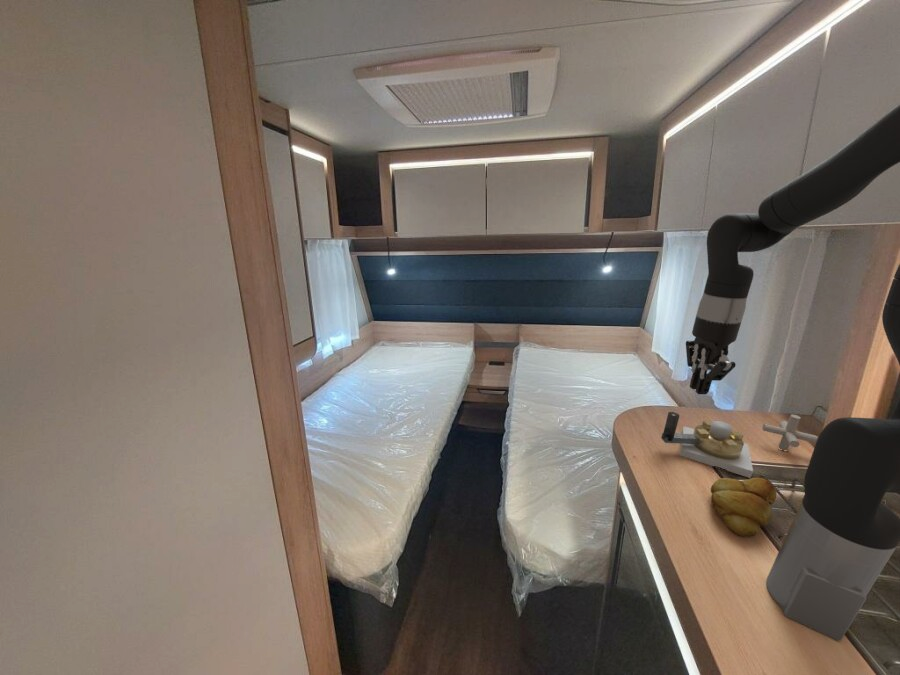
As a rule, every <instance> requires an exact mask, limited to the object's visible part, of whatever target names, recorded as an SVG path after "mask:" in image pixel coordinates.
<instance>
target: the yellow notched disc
mask: <svg viewBox="0 0 900 675" xmlns="http://www.w3.org/2000/svg"><path fill="white" fill-rule="evenodd" d="M679 419H680V414H679V413H678V412H673V411H669V412H668V414H667V417H666V422H665V423H664V424H665V425H664V428H663V429H664V430H663V432H662V434H661V437H660V438H661V440H662V441H663V442H664V444H680V445H681V444H694V445H695V446H696V447H697V448H699V449H700V450H702V451H703V452H705V453H707V454H709V455H712V456H715V457H718V458H723V459H736V458H738V457H739V456H740V454H741V451H742V448H743V445H744V443H745V442H744V441H743V439H744V434H742V432H740V431H739V430H733V429H732V430H731V433H730V436H729V439H728V440H725V439H723V440H719V439H716V438H714V437H712V436H711V435H710V434H709V431H710V427H711V424H712V422H713V421H712V420H703V421H702V424H700V425H699V424H698V425H697V426H695V427H694V429H695V430H694V433H693V434H682V433H676V430H677V427H678V423H679Z"/></svg>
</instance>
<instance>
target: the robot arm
mask: <svg viewBox="0 0 900 675" xmlns="http://www.w3.org/2000/svg"><path fill="white" fill-rule="evenodd" d="M899 163H900V103H899V104H898V105H896V106H894V108H892V109H891V110H889V111H888V112H887V113H886V114H885V115H882V117H881V118H879V120H877V121H875V122H874V123H873V124H871V126H868V128H866V129H865V130H864V131H863V132H861V133H860V134H858V136H856V137H855V138H853V139H852V140H851V141H849V142H848V143H847V144H846V145H845V146H843V147H842V148H840V149H839V150H837V151H836V152H835V153H834V154H832V155H831V156H829V157H828V158H827V159H825V160H823V161H821V162H820V163H818V164H817V165H815V166H814V167H812V168H811V169H809V170H807V171H806V172H804V173H803V174H801V175H799V176H798V177H796V178H794V179H793V180H790V182H787V183H786V184H784V185H783V186H781V187H779V188H778V189H776V190H775V191H773V192H771V193H770V194H769V195H767V196H766V197H765V198H764V199H763V200H761V203H760V205H759V207H758V209H757V211H758V212H757V213H752V212H751V213H745V212H743V213H742V212H741V213H735V212H734V213H733V212H732V213H726V214H723V215H721V216H719V217H718V218H717V219H716V220H714V221H713V223H712V225H711V226H710V228H709V230H708V232H707V236H706V253H707V267H708V268H707V270H708V273H707V279H706V282H705V285H704V290H703V292H702V296H701V298H700V300H699V304H698V308H697V311H696V315H695V319H694V323H693V327H692V331H691V334H692V336H693V337H695V338H694V340H686V342H685V351H686V363H687V364H686V365H687V366H688V367H690V368H691V369H690V370H691V373H692V375H691V378H690V382H689V383H690V384H689V388H690V389H691V390H695V393H696V394H697V395H707V394H709V392H710V390H711V389H710V388H711V384H712V383H713V381H719V382H720V381H722V380H723V379H724V378H725V377H726V376H727V375H728V374H729V373H731V371H732V370H734V369H735V368H736V366H737V364H736V362H735V361H730V359H729V358H728V355H729V345H730V344H732V343H734V342H736V341H737V338H738V335H739V332H740V328H741V325H742V321H743V318H744V314H745V311H746V309H747V308H746V306H747V299H748V295H749V292H750V289H751V286H752V283H753V278H754V269H752V267H751V266H748V265H745V264H744V265H743V264H739V253H754V252H760V251H763V250H765V249H769V248H770V247H773V246H774V245H776V244H778V243H779V242H780V241H782V240H784V239H785V237H787V236H789V235H790V234H791V233H793V231H795V230H796V229H797V228H799V227H802V226H804V225H805V224H808V223H810V222H812V221H814V220H817V219H819V218H821V217H823V216H824V215H827V214H829V213H832V212H833V211H835V210H837V209H839V208H841V207H842V206H844V205H845V204H847V203H848V202H850V201H852V200H854V199H855V198H856V197H857V196H858V195H859V194H860V193H862V192H863V191H864V190H865V189H866V188H867V187H868V186H869V185H870V184H871V183H872V182H873V181H874V180H875V179H876V178H878V177H879V176H880V175H881V174H883V173H885V171H888V170H889V169H891V168H892V167H894V166H895V165H897V164H899ZM893 277H894V278H893V279H892V281H891V285H890V287H889V291H888V294H887V297H886V300H885V303H884V305H883V310H882V315H881V318H882V319H881V320H882V326H883V329H884V333H885V335H886V338H887V340H888V343H889V345H890V347H891V350H892V352H893V353H894V356H895V358H896V359H897V360H896V361H897V362H898V365H899V366H900V263H899V265H898V267H897V269H896V271H895V273H894V276H893ZM708 371H709V372H708ZM817 437H818V439H817V442H816V443H815V446H814V448H813V451H812V454H811V456H810V460H809V463H808V465H807V466H808V467H807V468H806V471H805V474H804V479H803V485H804V495H803V498H802V500H801V503H800V505H799V507H798V509H797V512H796V514H795V516H794V518H793V521H792V522H791V525H789V529H788V530H787V533H786V535H785V537H784V540H783V541H782V544H781V546H780V548H779V550H778V552H777V554H776V558H775V559H774V562H773V564H772V566H771V568H770V571H769V573H768V575H767V578H766V581H765V582H766V588H767V590H768V592H769V594H770V596H771V597H772V599H773V600H774V601H775V602H776V604H778V606H779V607H780V608H781V610H782V614H783V615H784V616H785V617H787V618H789V619H791V620H793V621H796V622H797V623H799V624H802V625H803V626H805V627H808V628H810V629H812V630H815V631H816V632H819V633H821V634H822V635H823V634H824V635H825V636H827V637H830V638H831V639H834V640H836V641H838V642H841V641H842V640H843V638H844V636H845V635H846V632H848V630H849V628H850V627H851V625H852V623H853V622H854V620H855V618H856V617H857V615H858V614H859V612H860V610H861V609H862V607H863V605H864V603H865V602H866V600H867V596H868V594H869V592H870V590H871V589H872V587H873V586H874V584H875V582H876V580H877V579H878V578H879V576H880V574H881V573H882V571H883V569H884V567H885V566H886V565H887V563H888V562H889V560H890V558H891V556H892V555H893V553H894V552H895V550H896V549H897V547H898V545H899V543H900V517H899V516H898V515H897V514H896V513H895V512H893V511H892V509H890V508H889V507H887V506H886V505H884V504H883V503H882V501H883V498H884V496H885V495H886V494H888V493H891V494H900V394H899V396H898V398H897V401H896V404H895V406H894V409H893V411H892V413H891V415H890V416H889V418H873V417H872V418H871V417H839V418H836V419H834V420H832V421H830V422H829V423H827V425H825V427H824V428H822V430H821V432H820V434H819V436H817Z"/></svg>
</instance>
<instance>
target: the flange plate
mask: <svg viewBox="0 0 900 675" xmlns="http://www.w3.org/2000/svg"><path fill="white" fill-rule="evenodd" d="M694 430H695V428H692V427H688V426H683V427H682V431H681V434H693V433H694ZM731 430H733V428H732V426H731V424H728V423H727V422H724V421H721V420H713V421H712V424H711V427H710V431H709V434H710V435H711V436H712V437H714V438H716V439H719V440H723V439H725V440H728V439H729V436H730V433H731ZM679 450H680V452H679V456H680V457H683V458H685V459H688V460H691V461H695V462H699V463H701V464H705V465H708V466H711V467H714V466H718V467H721V468H723V469H726V470H727V471H726V470H725V471H726V472H730V473H733V474H737V475H740V476H743V477H745V478H748V479H752V476H753V473H754V468H753V464H752V463H753V461H752V459H751V454H750V453H751V452H750V448H749V444H748V443H745V442H744V445H743V448H742V451H741V454H740V456H739V457H738V458H736V459H723V458H718V457H715V456H712V455H709V454H707V453H705V452H703V451H702V450H700V449H699V448H697V447H696V446H695V445H694V444H680V449H679ZM723 469H722V470H723Z"/></svg>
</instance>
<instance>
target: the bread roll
mask: <svg viewBox="0 0 900 675" xmlns="http://www.w3.org/2000/svg"><path fill="white" fill-rule="evenodd" d="M710 492H711V497H710V498H711V500H710V501H711V506H712V509H713V510H714V512H715V513H716V514H717V515H718V516H719V517H721V518H722V520H723V521H724V522H723V523H724V524H725V526H727V527H728V528H729V529H730V530H731V531H732V532H734V533H735V534H737V535H739V536H741V537H747V538H748V537H754V536H756V535H758V534H759V533H760V531H761V529H762V528H765V527H767V525H768V524H769V522H770V519H771V516H772V506H771V505H773V504H774V503H775V501H776V499H777V489H776V487H775V485H773V483H772V482H771V481H769V480H768V479H766V478H762V477H751V478H748V479H746V478H744V479H742V480H741V481H740V480H739V479H737V478H730V477H723V478H718V479H717V480H715V481H714V482H713V484H712V485H711V487H710Z"/></svg>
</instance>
